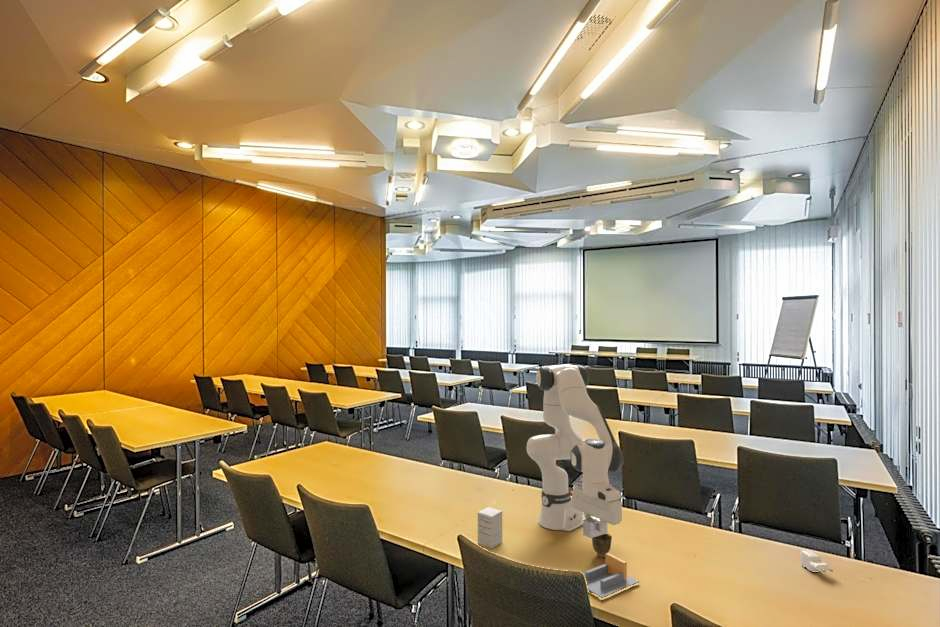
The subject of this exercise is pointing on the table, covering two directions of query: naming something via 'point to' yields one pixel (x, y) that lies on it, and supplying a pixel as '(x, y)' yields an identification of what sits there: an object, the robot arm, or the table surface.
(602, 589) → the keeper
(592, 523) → the link block
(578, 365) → the robot arm
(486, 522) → the supplement box
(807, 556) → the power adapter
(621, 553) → the table surface
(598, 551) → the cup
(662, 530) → the table surface
